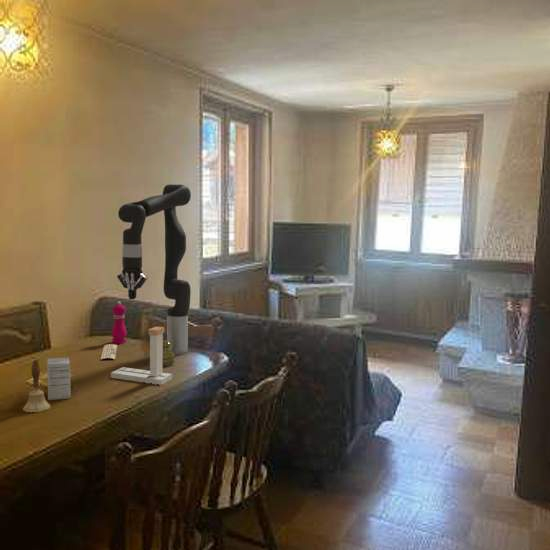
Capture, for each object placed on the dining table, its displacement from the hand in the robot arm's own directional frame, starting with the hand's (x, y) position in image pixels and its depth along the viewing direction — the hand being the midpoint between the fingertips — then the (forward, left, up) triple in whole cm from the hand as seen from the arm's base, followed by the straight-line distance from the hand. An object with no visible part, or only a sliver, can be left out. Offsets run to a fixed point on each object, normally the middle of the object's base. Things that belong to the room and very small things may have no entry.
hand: (132, 298), depth 222 cm
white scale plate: (+11, +6, -29) cm, 32 cm away
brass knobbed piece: (-9, +12, -29) cm, 33 cm away
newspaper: (-24, -15, -30) cm, 41 cm away
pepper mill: (-43, -16, -29) cm, 54 cm away
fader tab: (+13, +12, -27) cm, 32 cm away
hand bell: (+44, -21, -29) cm, 57 cm away
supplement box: (+32, -18, -29) cm, 47 cm away
